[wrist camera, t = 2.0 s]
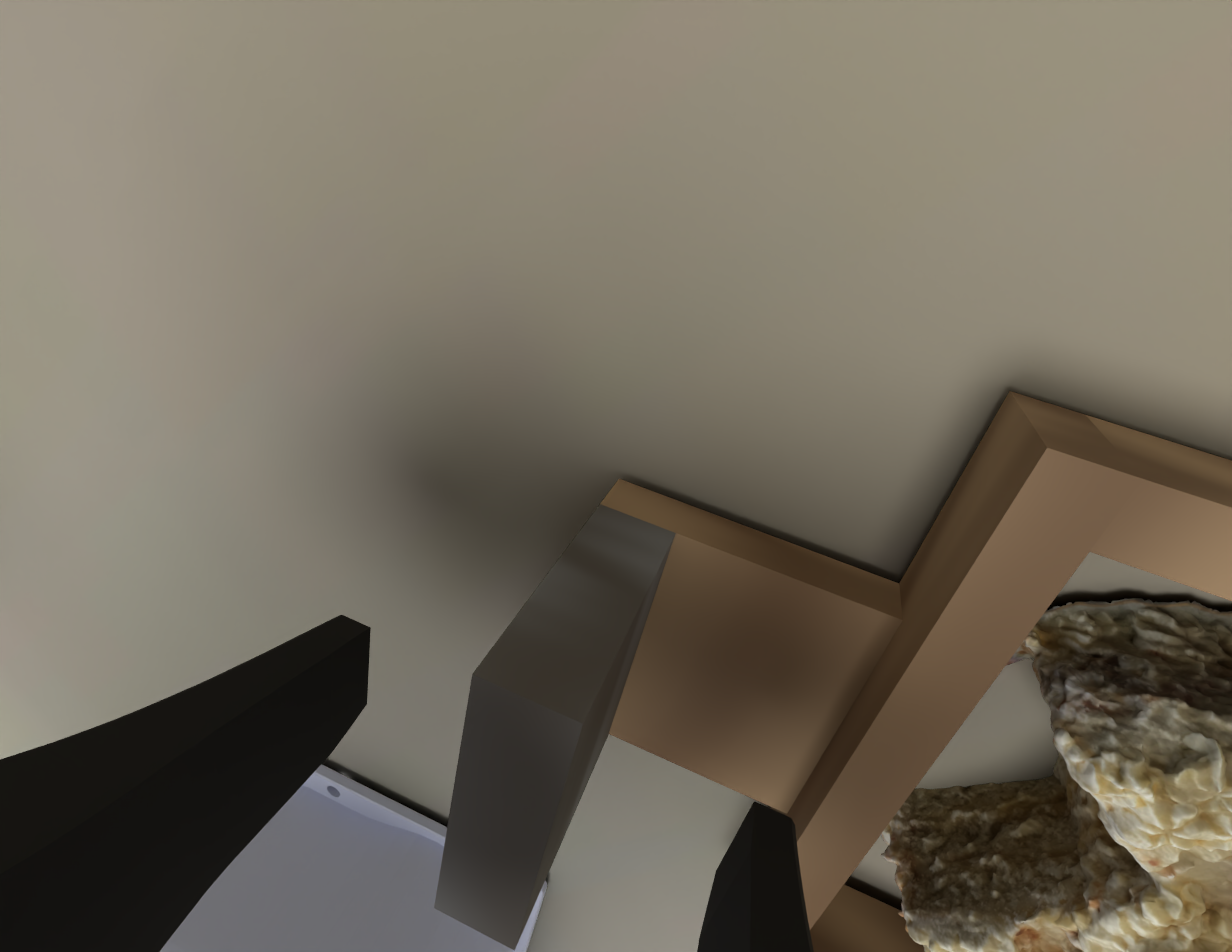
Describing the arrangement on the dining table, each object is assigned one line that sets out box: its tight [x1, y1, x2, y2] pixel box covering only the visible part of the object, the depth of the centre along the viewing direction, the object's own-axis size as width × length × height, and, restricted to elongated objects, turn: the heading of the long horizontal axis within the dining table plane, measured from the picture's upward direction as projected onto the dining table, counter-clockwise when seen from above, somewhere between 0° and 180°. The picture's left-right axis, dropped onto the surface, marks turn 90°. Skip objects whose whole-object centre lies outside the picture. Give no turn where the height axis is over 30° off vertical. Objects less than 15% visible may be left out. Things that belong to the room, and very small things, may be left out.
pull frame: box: [434, 391, 1232, 952], centre depth 11 cm, size 20×14×6 cm
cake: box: [881, 598, 1232, 952], centre depth 12 cm, size 10×10×5 cm
